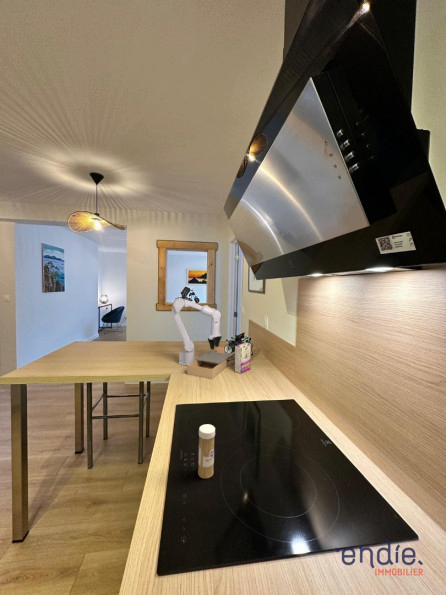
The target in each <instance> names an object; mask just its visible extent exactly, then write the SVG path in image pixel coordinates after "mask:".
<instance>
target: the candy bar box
mask: <svg viewBox="0 0 446 595" xmlns="http://www.w3.org/2000/svg"><path fill="white" fill-rule="evenodd" d="M251 347H252V344H251V343H249V342H243V343H240V344H237V345H235V346H234V373H237V374H240V375H241V374H244V373H245V372H247V371H249V370H251V356H252V354H251V353H252V352H251V351H252V350H251V349H252V348H251Z"/></svg>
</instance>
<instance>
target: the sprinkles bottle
mask: <svg viewBox="0 0 446 595" xmlns="http://www.w3.org/2000/svg"><path fill="white" fill-rule="evenodd" d="M198 436H199V438H198V470H197V474H198V476H199V478H202V479H210V478H211V477H212V476H213V475H214V472H215V471H214V463H215V436H216V427H215V426H214V425H212V424H209V423H208V424H205V423H204V424H202V425H200V426H199V429H198Z"/></svg>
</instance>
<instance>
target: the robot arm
mask: <svg viewBox="0 0 446 595" xmlns="http://www.w3.org/2000/svg"><path fill="white" fill-rule="evenodd" d="M188 307H190V308H193V309H196V310H198V311H200V313H201V314H203V315H205V316H208V317H209V318H211V320H210V321H211V323H210V335H209V336H208V338H207V341H208V343H209V347H210V348H209V349H210V350H213V351H215V348H217V347H220V346H219V345H220V343H221V340H222V338H223V337H222V334H221V331H220V326H221V320H220V318H221V316H222V315H221V312H220V311H219V310H218V309H217V308H215V307H213V308H212V307H210V306H209V305H207V304H206V305H205V304H204V305H200V304H198V303H196V302H193V301H192V300H189V299H186V298H182V297H177V298H175V300H174V301H173V303H172V308H171V313H170V314H171V317H172V319H173V322H174V324H175V327H176V328H177V330H178V333H179V336H180V337H181V339H182V343H183V349H181V350H180V351H179V354H178V364H179V365H182V366H187V367H188V365H189V364H191V363H192V362H194V361H195V344H194V341H193V340H192V339H191V338H190V336H189V333H188V331H187V330H186V327H185V325H184V322H183V320H182V319H181V315H180V312H181V310H182V309H183V308H188Z"/></svg>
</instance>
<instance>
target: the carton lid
mask: <svg viewBox="0 0 446 595" xmlns="http://www.w3.org/2000/svg"><path fill="white" fill-rule="evenodd" d="M232 355H234V352H225V347H223V346H222V347H221V346H218V347H216V350H212V349H210V350H208V351H207V352H205V353H203V354H201V355H199V356H198V357H196V358H194V361H196V360H199V361H205V362H211V363H217V364H221V363H222V362H223V361H225V360H226V359H229V358H230V357H231V356H232Z"/></svg>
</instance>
